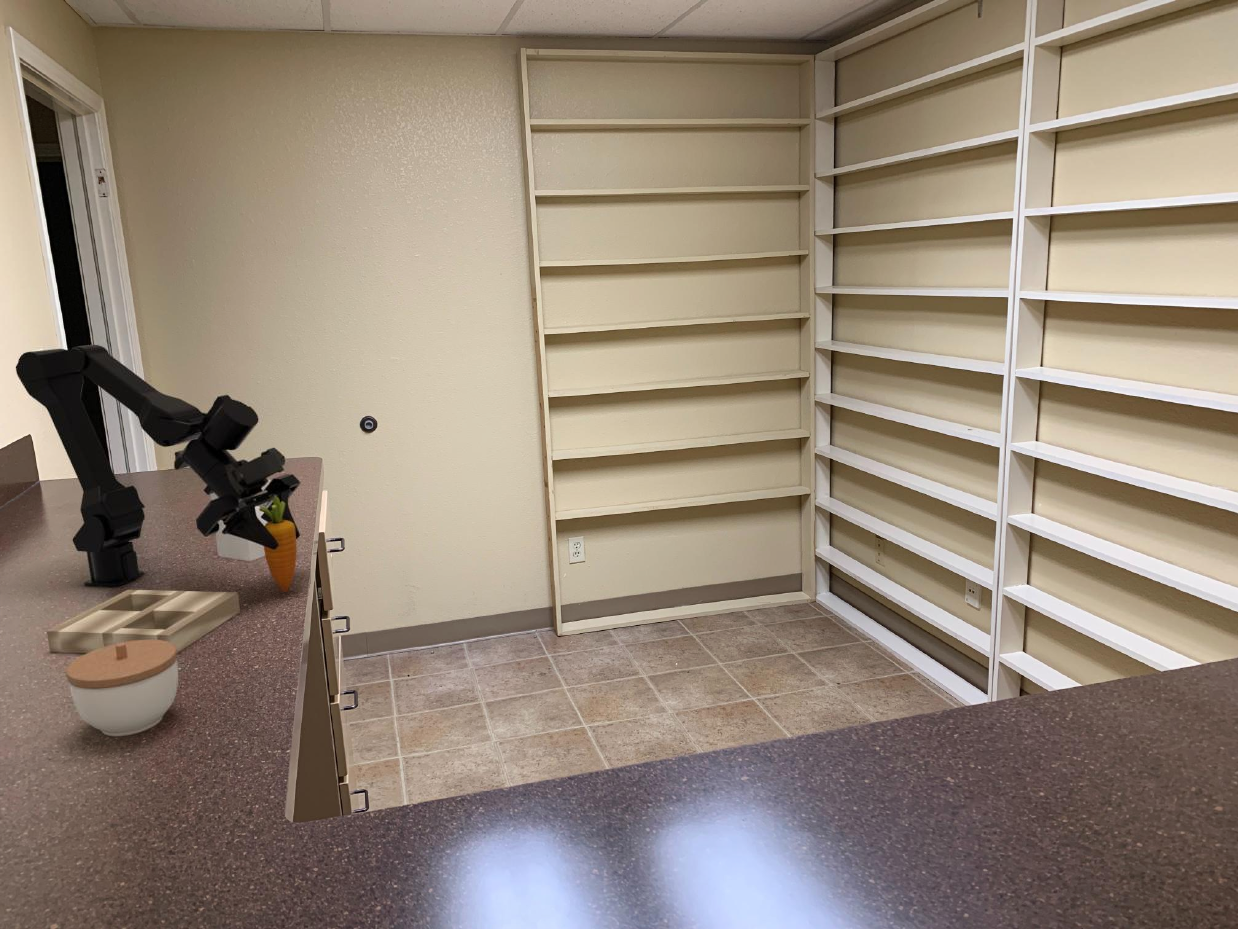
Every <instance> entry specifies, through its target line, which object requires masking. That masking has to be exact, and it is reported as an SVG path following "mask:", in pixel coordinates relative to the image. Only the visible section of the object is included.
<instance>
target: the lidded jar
mask: <svg viewBox="0 0 1238 929" xmlns="http://www.w3.org/2000/svg"><path fill="white" fill-rule="evenodd" d="M177 660H178V653H177V650H176V647H175V646H174V645H173V644H172V643H170V642H167V641H162V640H136V641H128V642H122V643H118V644H113V645H109V646H106V647H103V648H100V649H97V650H94V651H92V652H89V653H84V654H83V655H81V656H80V657H78V658H76V659H75V660H73V661H72V662H71V663H70V664H69V665H68V666H67V668H66V671H65V675H66V678H67V682H68V683H69V684H68V685H69V689H70V694H71V698H72V701H73V704H74V706H75V708H76V710H77V713H78V714H79V715H80V717H81V718H82V719H83V720H84V722H86V723H87V724H88V725H89V726H90V727H93V728H94V729H96V730H99V731H100V732H101V733H102V734H103V735H105V736H108V737H126V736H131V735H136V734H139V733H141V732H144V731H147V730H150V729H151V728H153V727H155V726H156V725H158V724H159V723H160V722H161V721H162V720H163V717H164V715H165V714H166V713H167V712H168V711H169V709H170V707H171V706H172V704H173V703H174V700H175V699H176V694H177V691H178V686H179V667H178V666H179V665H178V661H177Z"/></svg>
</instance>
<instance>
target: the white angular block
mask: <svg viewBox="0 0 1238 929" xmlns="http://www.w3.org/2000/svg"><path fill="white" fill-rule="evenodd" d="M267 480H268V482H267V483H266V485H265V486H263V487H262V488H261V489H262V491H263V490H264V489H265V488H266V487H267V486H268V484H269V483H270V482H271V481H272V479H267ZM209 496H210V501H211V500H214V499H217V498H218V497H217V495H216V494H215V493H212V494H210V495H209ZM259 509H260V507H258V506H256V507H255V511H256V516H257V518H258V519H259V520H260V521H261V523H262V524H263V525H264V526H265V524H266V523H268V522H267V521H265V520H264V519H262V518H261V516H262V515H263V513H264V512H262V511H259ZM218 524H219V531H218V532H217V533H215V541H216V546H217V547H216V548H217V554H218V557H222V558H227V559H228V558H229V559H234V560H240V561H247V562H253V561H254V560H257V559H260V558H262V557H265V551H264V546H262V545H260V544H257V543H254V542H252V541H249V540H246V539H243V538H240V537H237V536H233V535H230V534H223V533H222V531H223V529H224V528H225V527H226V526H225V525H224V524H223V521H222V520H220V521H219V522H218Z"/></svg>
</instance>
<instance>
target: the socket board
mask: <svg viewBox="0 0 1238 929" xmlns="http://www.w3.org/2000/svg"><path fill="white" fill-rule="evenodd" d="M240 606H241V605H240V600H239V592H237V591H236V592H232V591H197V590H196V591H195V590H193V591H192V590H191V591H190V590H189V591H188V590H187V591H186V590H158V589H156V590H154V589H153V590H151V589H148V590H147V589H127V590H125V591H122V592H121V593H119V594H117V595H115V596H113V597H111V598H109V599H107V600H105V601H103V602H101V603H99V604H97V605H95V606H94V607H90V608H89V609H88V610H85V611H83V612H82V613H80V614H78V615H76V616H74V617H72V618H69V619H68V620H66V621H64V622H61V623H60V624H58V625H56V626H54V627H52V628H50V629H47V630H46V636H47V641H48V646H49V652H50V653H68V654H87V653H89V652H92V651H94V650H97V649H100V648H103V647H106V646H109V645H113V644H118V643H122V642H128V641H136V640H162V641H167V642H170V643H172V644H173V645H174V646H175V647H176V650H177V654H178V653H180V652H181V651H184V649H186V648H188V647H189V646H190V645H192V644H193V643H195V642H196V641H198V640H200V639H201V638H202V637H204V636H206V635H207V634H209V633H210V632H212V631H213V630H215V629H216V628H218V627H219V626H221V625H223V624H224V623H225V622H226V621H229V620H230V619H231V618H233V617H234V616H236V615H237V614H239V613H240V612H241V607H240Z"/></svg>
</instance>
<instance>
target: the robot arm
mask: <svg viewBox="0 0 1238 929" xmlns="http://www.w3.org/2000/svg"><path fill="white" fill-rule="evenodd" d="M15 373H16V375H17V377H18V379H19V382H20V383H21V384H22V386H23V387H24V389H25V390H26V392H27V394H28V395H29V396H30V397H31V398H33V399H34V400H35V401H36V402H38V403H39V404H40V405H42V406H43V407H44V408H45V409H46V410H47V412H48V414H49V416H50V419H51V421H52V423H53V426H54V427H55V430H56V432H57V434H58V437H59V439H60V441H61V443H62V446H63V449H65V452H66V455H67V457H68V460H69V462H70V463H71V467H72V468H73V470H74V473H75V475H76V477H77V480H78V482H79V484H80V486H81V489H82V497H81V504H80V514H81V518H82V520H83V524H82V525H81V527H80V528H79V529H78V531H77V532H76V533H75V535H74V536H73V538H72V542H73V545H74V547H75V549H76V551H77V552H81V553H83V552H86V557H87V561H88V562H87V563H88V568H89V575H90V579H88V580H87V581H84V582H83V583H84V586H94V587H95V586H97V587H99V586H100V587H101V586H102V587H103V586H104V587H118V586H119V587H120V586H121V585H124V584H126V583H128V582H130V581H132V580H134V579H136V578H138V577H140V576H142V575H144V574H145V572H144V570H139V564H138V556H137V552H136V550H134V544H133V540H138V539H140V538H141V535H142V534H141V533H142V527H143V523H144V520H145V519H146V518H145V517H146V516H145V512H144V509H145V508H146V507H145V505H144V503H142V501H141V498H140V496H139V493H138V490H137V488H136V487H135V486H134V485H130V486H125V485H123V484H122V483H121V482H120V481H118V480H117V478H116V476H115V474H114V471H113V470H112V467H111V464H110V463H109V460H108V458H107V456H106V454H105V451H104V449H103V447H102V444H101V442H100V439H99V437H98V435H97V433H96V430H95V428H94V426H93V424H92V421H91V418H90V417H89V415H88V414H89V413H87V410H86V408H85V405H84V403H83V401H82V398H81V397H82V392H83V385H84V383H85V382H84V377H83V376H85V377H86V378H87V379H89V380H90V381H91V382H93V383H94V384H95V385H96V386H98V387H99V388H101V389H102V390H103V391H104V392H106V393H107V394H108V395H110V396H111V397H112V398H113V399H115V400H116V401H117V402H118V403H121V404H122V405H123V406H124V407H125V408H127V409H128V410H129V411H131V412H132V413H133V414H134V415H135V416H136V417H137V418H138V421H139V424H140V427H141V429H142V430H143V431H144V433H146V434H147V435H148V436H149V438H151V440H153V441H154V442H155V444H157V445H158V446H160V447H163V448H166V447H167V448H169V447H173V446H177V445H181V444H185V443H187V444H186V446H185V447H184V448H183V450H182V449H181V450H178V451H175V452H174V459H175V460H174V463H173V468H174V470H176V471H178V470H182V469H185V468H190V469H191V470H192V471H193V472H194V473H195V474H196V475H197V477H199V478H200V479H201V481H203V483H204V484H205V485H206V487H205V488H203V492H204V493H205V494H206V495H207V496H211V495H210V494H212V493H215V494H216V495H217V497H218V498H217V499H214V500H211V499H210V501H209V503H208V504H207V505H206V506H205V507H204V509H203V510H202V511H201V513H200V514H199V515H198V516H197V518H196V519H195V524H196V529H197V530H198V531H199V533H201V534H202V535H203V537H204V538H207V537H209V536H212V535H215V534H216V533H217V532H218V531H219V524H218V522H219V521H220V520H222V521H223V524H224V525H225V526H226V527H225V528H224V529H223V531H222V533H223V534H230V535H233V536H237V537H240V538H243V539H246V540H249V541H252V542H254V543H257V544H260V545H262V546H265V547H268V548H270V549H273V550H275V549H276V548H277V547H278V546H279V544H278V543H277V541H276V540H275V538H274V537H273V536H272V535H271V533H270V532H269V531H268V530H267V529H266V527H265V526H264V525H263V524H262V523H261V521H260V520H259V519H258V518H257V516H256V511H255V507H256V506H258V507H263V508H266V509H268V510H269V511H270V512H271V510H272V505H274V503H273V500H272V498H274V497H278V498H279V501H280V504H281V502H284V503H285V509H284V512H283V516H282V520H287V521H291V522H292V523H294V525H295V532H296V540H298V539H299V537H300V536H301V532H300V531H299V529H298V527H297V524H296V522H295V519H294V517H293V514H292V513H291V510H290V507H289V499H290V497H291V496H292V495H293V494H294V493H295V492H296V490H297V489H298V488H299V487H300V485H301V481H300V480H299V479H298V478H297V477H296V475H294V474H291V473H285V474H282V475H279V476H277V477H273V479H271V482H270V483H269V484H268V486H267V487H266V488H265V489H264V490H263V491H262V489H261V488H262V487H263V486H265V485H266V483H267V482H268V480H269V479H268V478H269V477H271V476H274V475H275V474H277V473H281V472H283V471H285V468H284V467H283V466H284V465H285V464H286V457H285V455H283V454H282V453H281V452H280V451H279V450H278V449H277V448H275V447H271V448H268V449H266V450H265V451H262V452H261V453H260V456H257V457H255V458H253V459H251V460H250V461H248V460H246V459H241V460H237V459H236V458H235V457H234V456H233V455H232V454H231V453H230V452H229V451H236V450H238V449H239V448H240V446H241V445H242V444H243V443H244V441H245V440H246V439H247V437H248V436H249V435H250V434H251V432H253V430H254V429H255V427H256V426H257V424H258V423H259V415H258V414H257V412H256V411H255V410H254V409H253V407H251V406H248V405H247V404H245V403H243V402H242V401H239V400H237V399H232V397H231V396H230V395H228V394H224V395H219V396H217V398H215V400H214V402H213V403H212V406H211V407H210V409H209V410H208V412H202V411H201V410H200V409H199V408H198V407H196V406H194V405H193V404H191V403H189V402H187V401H185V400H183V399H181V398H177V397H175V396H171V395H167V394H165V393H163V392H161V391H159V390H157V389H156V388H155V387H153V386H152V385H151V384H149V383H148V382H147V381H145V380H144V379H143V378H141V377H140V376H139V375H137V374H136V373H134V371H132V370H131V369H130V368H128V367H127V366H125V365H124V364H123V363H122V362H120V361H119V360H118V359H116V358H115V357H114V356H113V355H111V354H110V353H109V351H108V350H107V349H106V347H105V346H102V345H99V344H87V345H79V346H73V347H72V348H68V349H66V348H65V349H64V348H54V349H44V350H43V349H42V350H36V351H35V350H34V351H27V352H23V353H22V354H21V355H20V356H19V358H18V361H17V364H15ZM261 518H262V519H264V520H265V521H267V522H271V521H272V520H271V518H270V517H269V516H268V515H267V514H266V513H263V515H262V516H261Z"/></svg>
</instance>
